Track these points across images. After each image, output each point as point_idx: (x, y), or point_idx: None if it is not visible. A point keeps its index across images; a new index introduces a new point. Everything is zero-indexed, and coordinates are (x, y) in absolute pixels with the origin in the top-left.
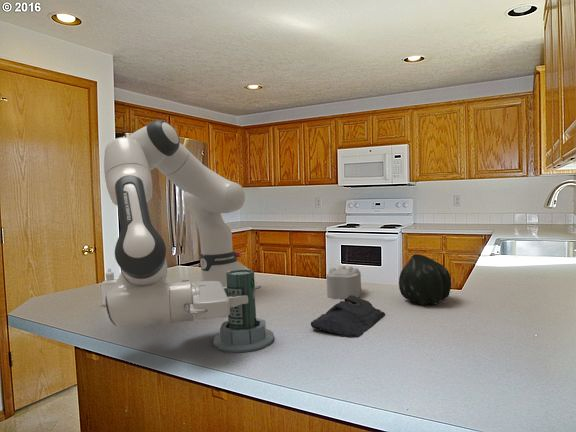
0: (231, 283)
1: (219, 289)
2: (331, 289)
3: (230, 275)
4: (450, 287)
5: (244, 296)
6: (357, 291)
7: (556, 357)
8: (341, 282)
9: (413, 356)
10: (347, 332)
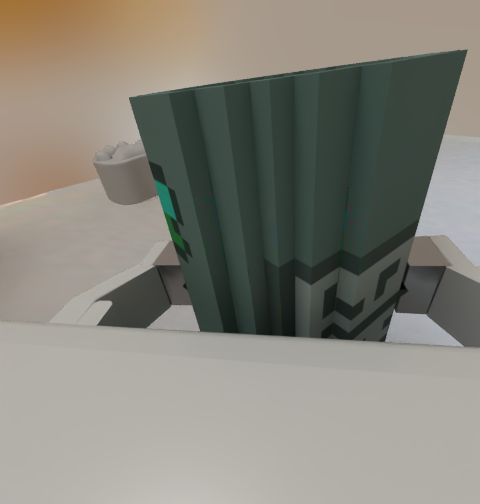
0: (390, 202)
1: (259, 387)
2: (133, 186)
3: (408, 78)
4: None
5: (455, 247)
6: None
7: (458, 138)
8: (145, 167)
9: (461, 188)
10: None
